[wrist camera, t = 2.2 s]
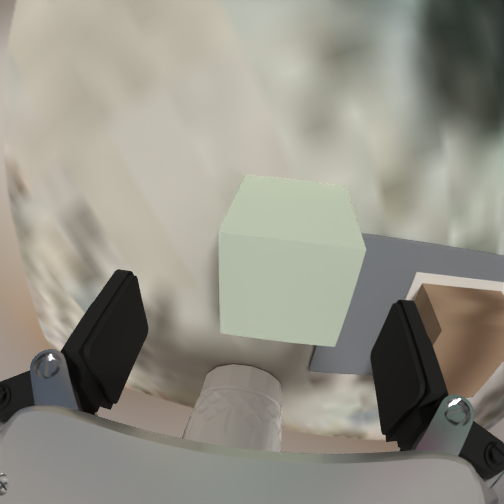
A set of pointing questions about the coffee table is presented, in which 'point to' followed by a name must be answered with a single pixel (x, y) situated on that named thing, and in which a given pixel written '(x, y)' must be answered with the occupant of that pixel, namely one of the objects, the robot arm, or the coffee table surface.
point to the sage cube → (288, 261)
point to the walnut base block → (463, 333)
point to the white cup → (238, 409)
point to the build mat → (399, 292)
